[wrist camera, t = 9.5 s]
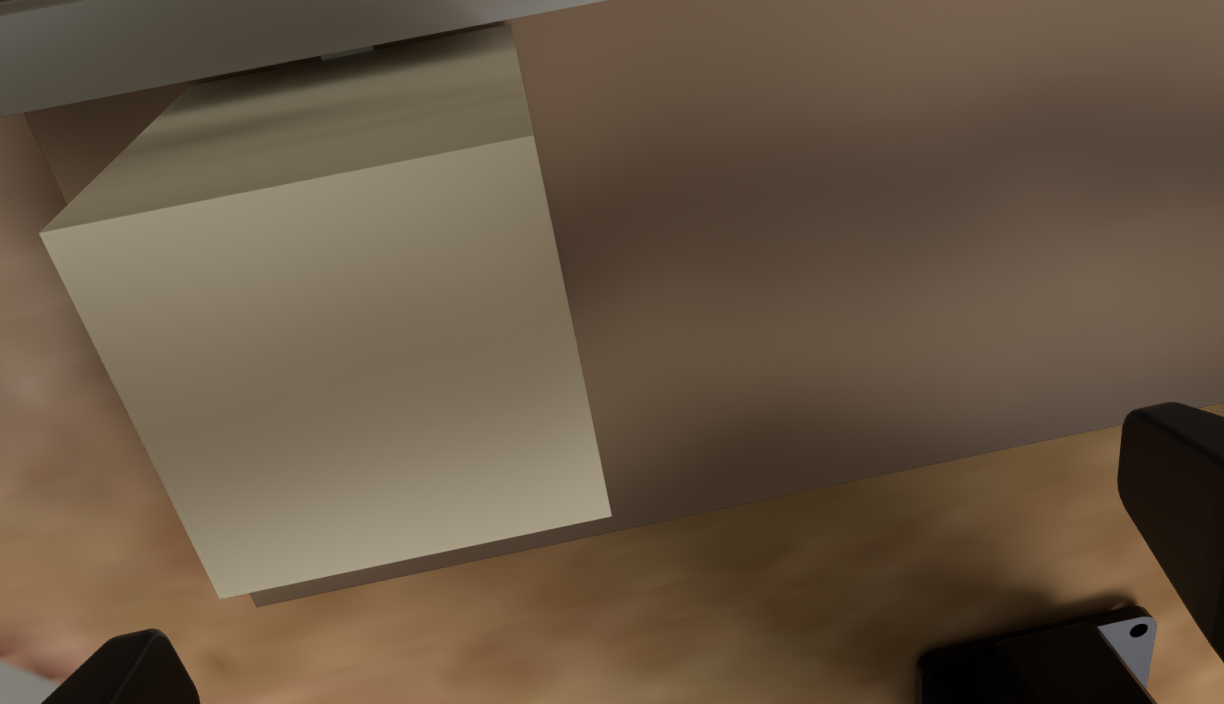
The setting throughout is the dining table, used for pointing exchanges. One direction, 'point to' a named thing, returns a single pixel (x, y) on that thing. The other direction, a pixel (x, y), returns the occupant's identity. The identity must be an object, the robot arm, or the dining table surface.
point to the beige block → (341, 313)
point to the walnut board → (781, 213)
